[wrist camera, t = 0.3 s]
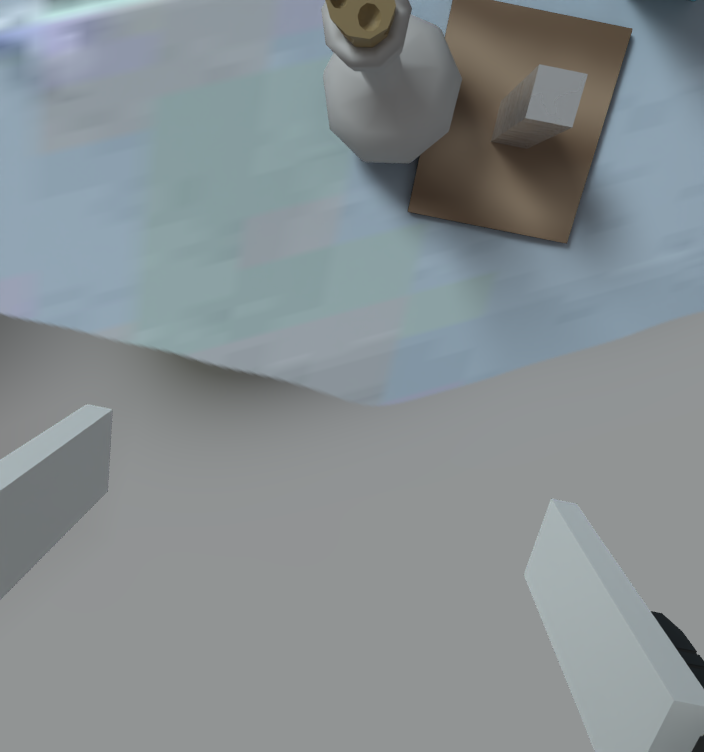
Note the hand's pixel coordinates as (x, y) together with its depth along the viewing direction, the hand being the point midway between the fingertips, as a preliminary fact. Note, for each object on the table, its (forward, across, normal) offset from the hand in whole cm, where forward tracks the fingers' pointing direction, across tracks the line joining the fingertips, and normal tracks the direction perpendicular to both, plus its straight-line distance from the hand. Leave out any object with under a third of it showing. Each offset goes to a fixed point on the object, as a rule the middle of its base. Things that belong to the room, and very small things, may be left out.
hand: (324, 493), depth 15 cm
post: (+27, +8, +16) cm, 33 cm away
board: (+27, +8, +16) cm, 33 cm away
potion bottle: (+27, -1, +16) cm, 31 cm away
